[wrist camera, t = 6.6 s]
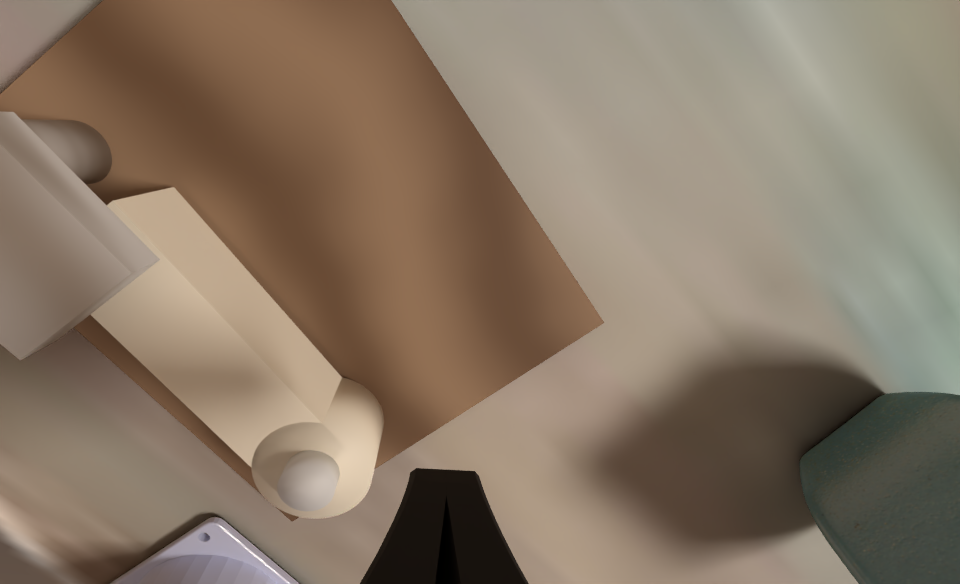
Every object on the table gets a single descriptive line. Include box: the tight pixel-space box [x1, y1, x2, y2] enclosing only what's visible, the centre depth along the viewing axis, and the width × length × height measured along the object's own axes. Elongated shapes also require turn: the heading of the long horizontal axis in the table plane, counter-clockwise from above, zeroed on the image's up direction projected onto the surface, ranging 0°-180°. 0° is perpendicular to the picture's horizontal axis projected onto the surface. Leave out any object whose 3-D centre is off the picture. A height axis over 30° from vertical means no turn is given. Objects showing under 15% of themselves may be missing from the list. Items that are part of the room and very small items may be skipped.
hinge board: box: [0, 0, 604, 521], centre depth 15 cm, size 16×18×6 cm
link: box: [90, 187, 384, 519], centre depth 16 cm, size 12×4×4 cm, turn 33°
